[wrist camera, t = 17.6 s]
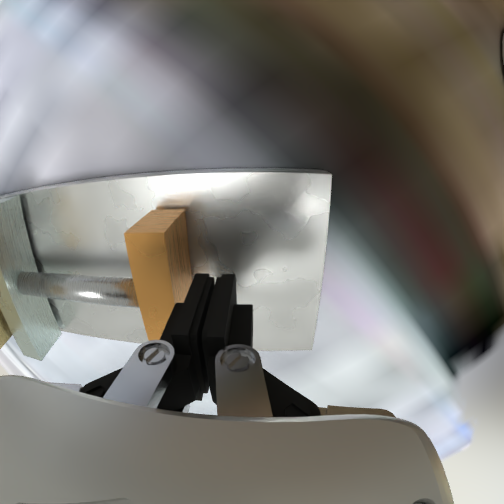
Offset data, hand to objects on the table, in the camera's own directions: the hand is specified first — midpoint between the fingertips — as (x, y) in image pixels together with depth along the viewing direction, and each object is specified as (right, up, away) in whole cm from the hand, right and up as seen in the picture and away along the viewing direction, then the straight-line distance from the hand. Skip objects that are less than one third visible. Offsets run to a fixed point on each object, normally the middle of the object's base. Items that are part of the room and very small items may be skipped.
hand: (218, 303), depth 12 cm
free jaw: (-8, +1, +2) cm, 8 cm away
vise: (-9, +2, +4) cm, 9 cm away
